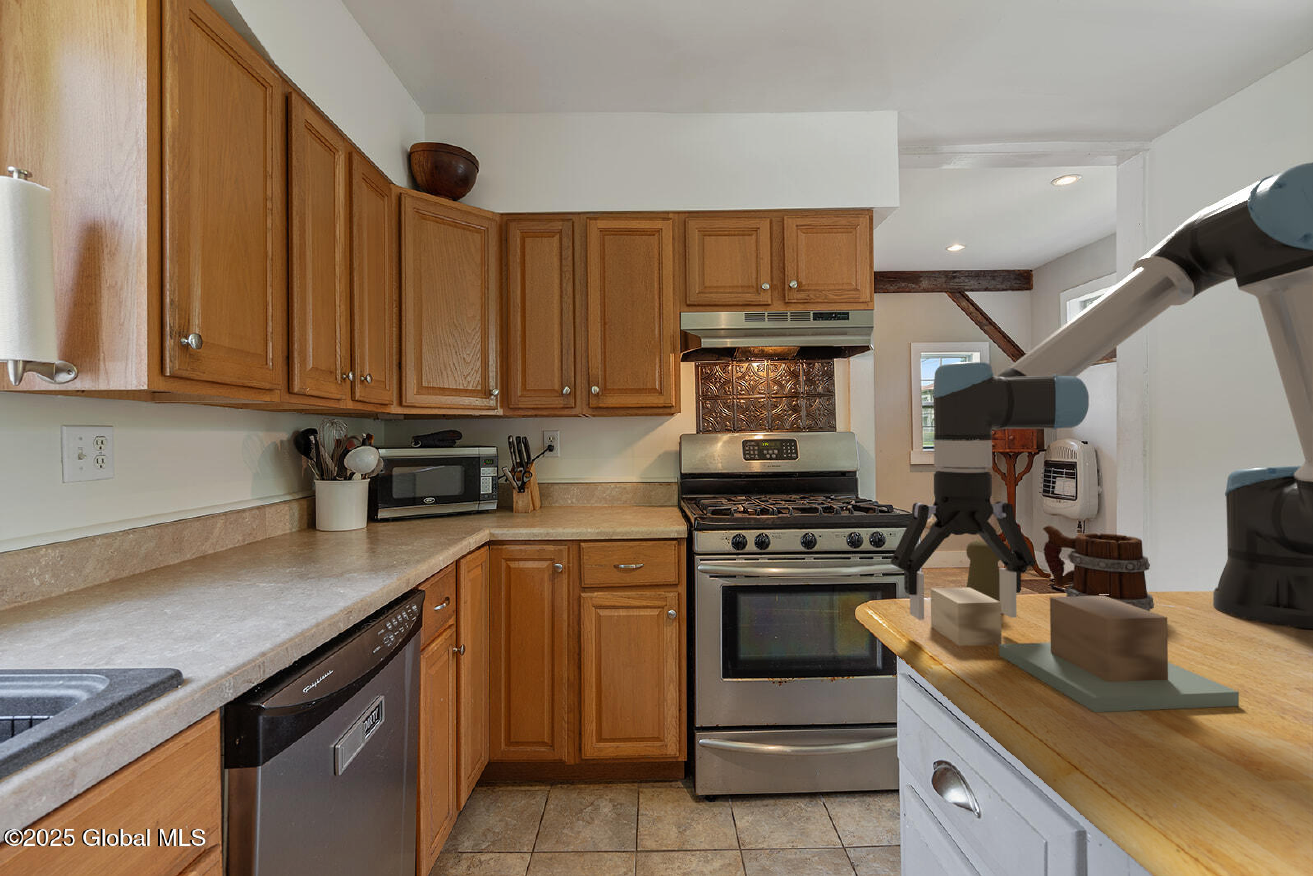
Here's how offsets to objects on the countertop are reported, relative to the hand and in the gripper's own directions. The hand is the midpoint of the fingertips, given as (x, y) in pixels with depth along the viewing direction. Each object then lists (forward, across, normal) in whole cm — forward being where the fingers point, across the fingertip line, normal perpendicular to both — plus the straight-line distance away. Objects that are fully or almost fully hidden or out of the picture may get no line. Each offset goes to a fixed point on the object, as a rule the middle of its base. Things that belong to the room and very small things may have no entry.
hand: (962, 616), depth 86 cm
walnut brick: (+1, -8, +16) cm, 18 cm away
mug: (+3, -29, -11) cm, 31 cm away
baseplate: (+3, -8, +16) cm, 18 cm away
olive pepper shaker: (+3, -11, -13) cm, 17 cm away
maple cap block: (+3, 0, 0) cm, 3 cm away
